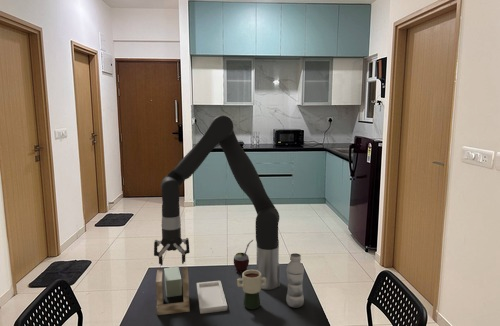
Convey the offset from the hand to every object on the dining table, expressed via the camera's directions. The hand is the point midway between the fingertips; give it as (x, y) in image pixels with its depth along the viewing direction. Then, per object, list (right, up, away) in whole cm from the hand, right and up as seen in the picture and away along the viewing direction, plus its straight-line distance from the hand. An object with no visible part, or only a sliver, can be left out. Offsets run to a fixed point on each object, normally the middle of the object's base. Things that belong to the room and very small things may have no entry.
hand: (172, 263), depth 148 cm
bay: (+3, -12, -12) cm, 17 cm away
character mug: (+33, -13, -13) cm, 37 cm away
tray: (+17, -12, -7) cm, 21 cm away
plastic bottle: (+49, -13, -12) cm, 52 cm away
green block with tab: (-1, -10, +3) cm, 11 cm away
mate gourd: (+29, -8, +17) cm, 34 cm away
